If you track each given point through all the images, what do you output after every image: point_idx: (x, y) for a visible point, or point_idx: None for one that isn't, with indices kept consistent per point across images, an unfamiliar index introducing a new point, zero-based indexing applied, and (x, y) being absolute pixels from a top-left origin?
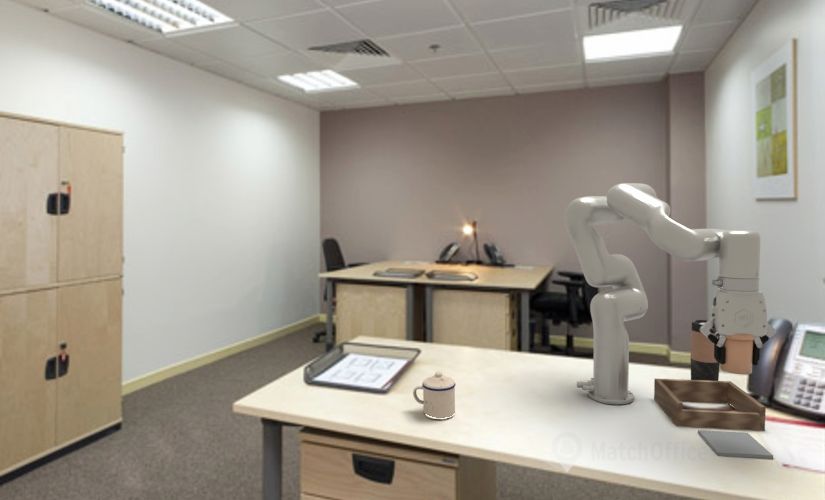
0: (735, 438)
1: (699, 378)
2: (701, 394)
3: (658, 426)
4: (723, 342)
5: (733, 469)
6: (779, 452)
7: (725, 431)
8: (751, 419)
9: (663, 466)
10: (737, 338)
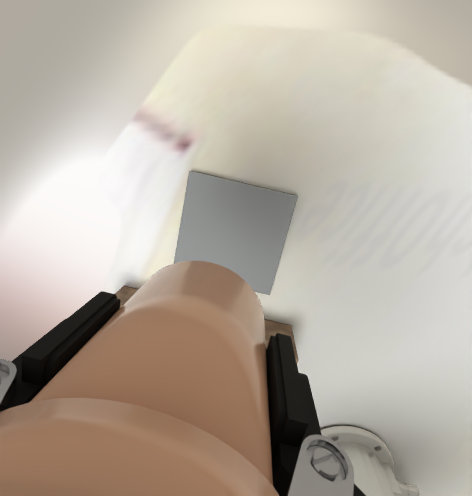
0: (216, 250)
1: None
2: None
3: (331, 329)
4: (301, 473)
5: (306, 136)
6: (158, 196)
7: None
8: None
9: (451, 161)
10: (213, 459)
